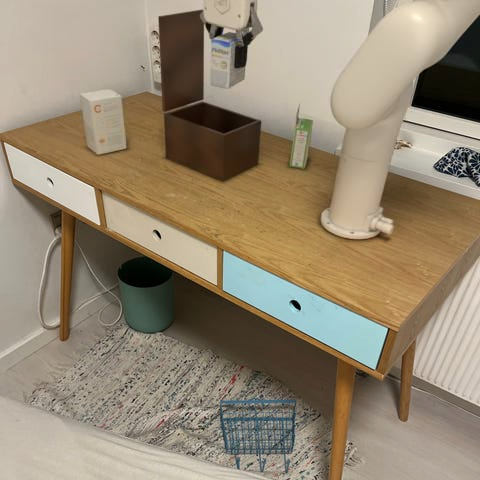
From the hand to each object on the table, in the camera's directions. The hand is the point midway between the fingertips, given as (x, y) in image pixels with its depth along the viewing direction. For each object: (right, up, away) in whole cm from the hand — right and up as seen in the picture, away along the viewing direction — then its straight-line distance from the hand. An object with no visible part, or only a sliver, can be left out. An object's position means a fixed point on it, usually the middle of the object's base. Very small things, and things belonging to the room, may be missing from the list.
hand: (228, 62), depth 103 cm
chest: (-5, -13, +22) cm, 26 cm away
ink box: (+17, -13, +24) cm, 33 cm away
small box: (-32, -9, +25) cm, 41 cm away
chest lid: (-10, +7, +13) cm, 18 cm away
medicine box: (0, -3, +3) cm, 4 cm away
